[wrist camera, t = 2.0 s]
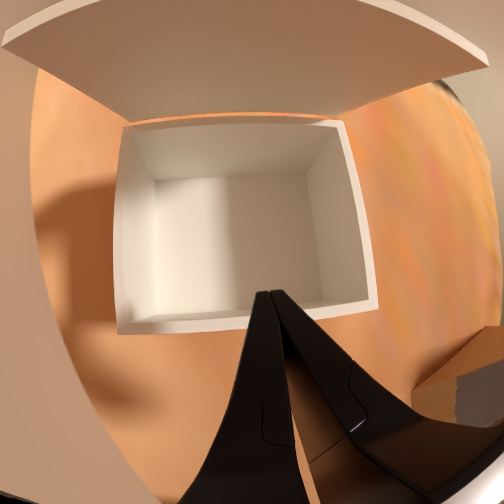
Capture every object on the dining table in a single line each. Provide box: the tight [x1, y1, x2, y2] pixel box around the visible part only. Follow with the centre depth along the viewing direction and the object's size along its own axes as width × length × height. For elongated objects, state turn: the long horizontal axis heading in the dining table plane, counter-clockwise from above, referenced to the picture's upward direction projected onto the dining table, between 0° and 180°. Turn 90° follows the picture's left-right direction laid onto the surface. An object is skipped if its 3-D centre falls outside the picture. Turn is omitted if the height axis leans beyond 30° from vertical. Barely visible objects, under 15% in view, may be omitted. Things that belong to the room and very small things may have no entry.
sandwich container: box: [411, 326, 504, 427], centre depth 15 cm, size 9×15×15 cm, turn 110°
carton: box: [113, 116, 378, 335], centre depth 18 cm, size 12×14×8 cm
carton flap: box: [1, 0, 489, 122], centre depth 9 cm, size 12×13×1 cm
